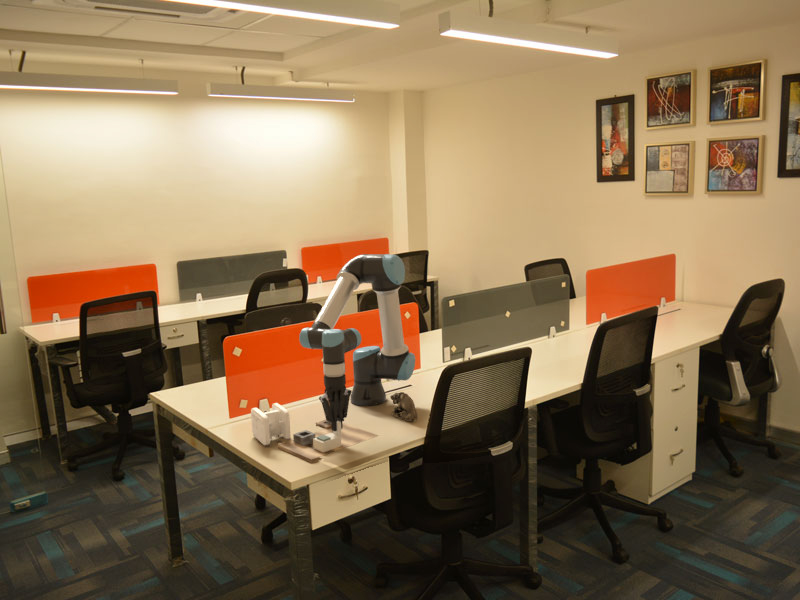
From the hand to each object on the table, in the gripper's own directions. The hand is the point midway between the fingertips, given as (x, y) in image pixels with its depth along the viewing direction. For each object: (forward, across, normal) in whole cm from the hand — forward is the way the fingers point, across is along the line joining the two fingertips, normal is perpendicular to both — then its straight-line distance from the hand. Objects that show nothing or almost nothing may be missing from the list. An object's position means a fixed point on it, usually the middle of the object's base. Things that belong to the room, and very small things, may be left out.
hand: (337, 438), depth 243 cm
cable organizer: (+3, +12, -24) cm, 27 cm away
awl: (+3, -10, -18) cm, 21 cm away
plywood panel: (+3, 0, -5) cm, 6 cm away
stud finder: (+2, +5, 0) cm, 5 cm away
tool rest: (+3, -10, -18) cm, 21 cm away
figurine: (+3, -37, -4) cm, 37 cm away
